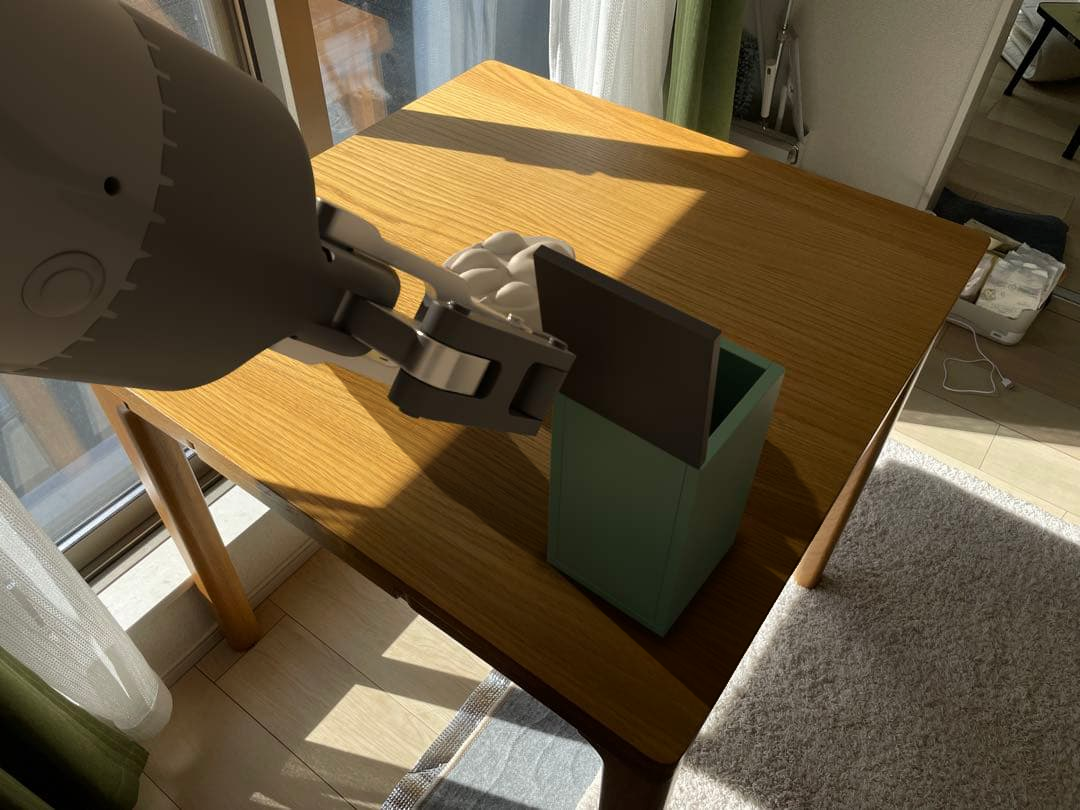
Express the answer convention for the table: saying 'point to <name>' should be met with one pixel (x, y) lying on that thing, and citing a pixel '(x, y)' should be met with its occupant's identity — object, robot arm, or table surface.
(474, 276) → the lumpy-topped squat cylinder
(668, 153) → the table surface
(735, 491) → the green box
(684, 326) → the box lid
